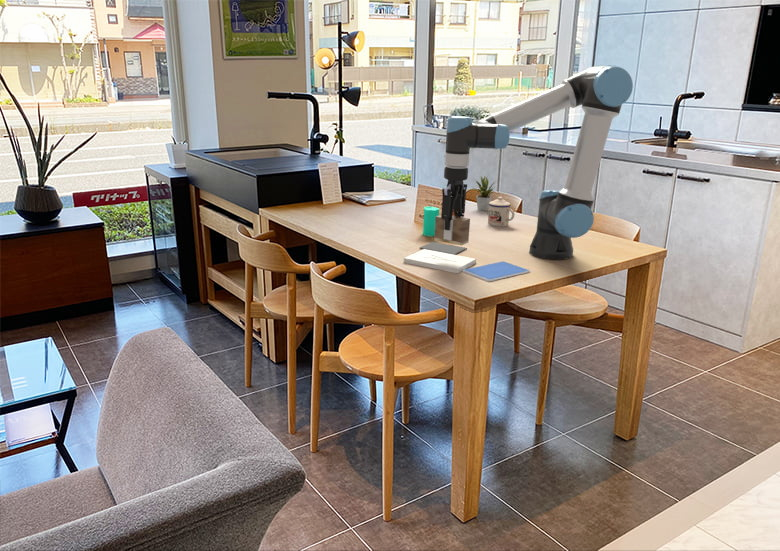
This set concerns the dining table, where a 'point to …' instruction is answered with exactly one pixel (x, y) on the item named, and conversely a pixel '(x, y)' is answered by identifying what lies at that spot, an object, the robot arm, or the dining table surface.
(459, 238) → the sanding block
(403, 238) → the dining table surface
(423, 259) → the marked board
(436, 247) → the mat
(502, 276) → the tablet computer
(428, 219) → the candle
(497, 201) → the teacup with lid
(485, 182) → the house plant
